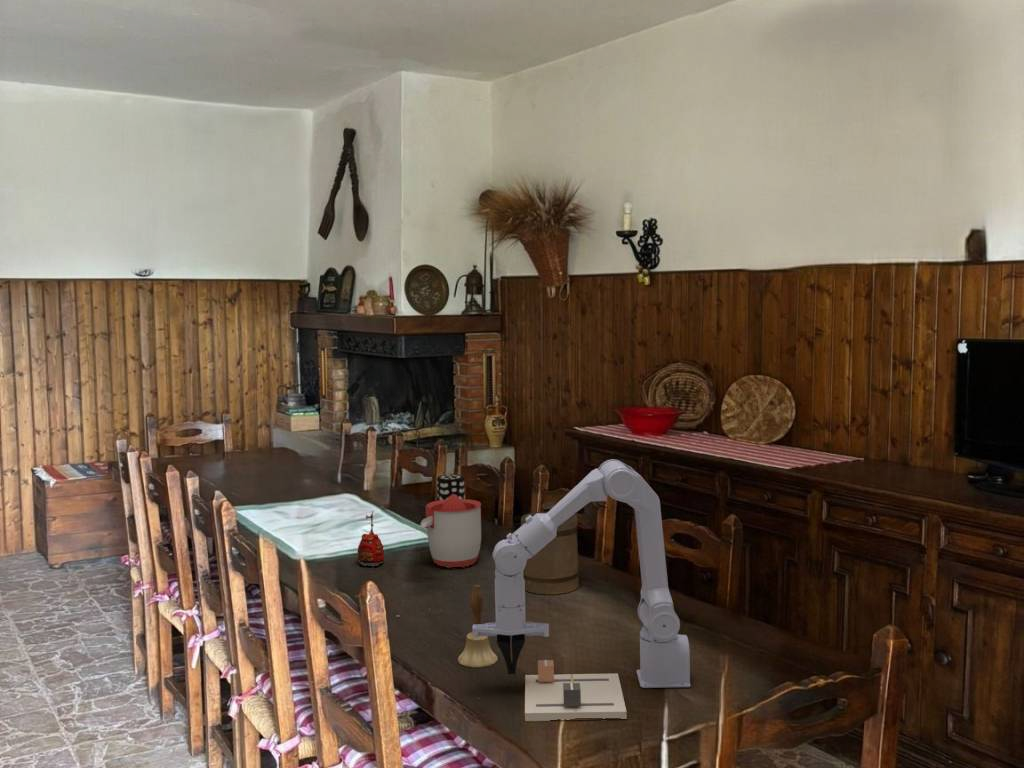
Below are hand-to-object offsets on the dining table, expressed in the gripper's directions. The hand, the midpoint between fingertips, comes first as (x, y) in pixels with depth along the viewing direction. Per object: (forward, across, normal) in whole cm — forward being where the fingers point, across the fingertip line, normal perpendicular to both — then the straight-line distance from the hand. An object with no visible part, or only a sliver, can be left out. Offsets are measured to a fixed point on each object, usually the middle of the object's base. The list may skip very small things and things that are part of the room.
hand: (511, 672), depth 184 cm
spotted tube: (+4, +20, -111) cm, 113 cm away
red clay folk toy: (+4, +41, -87) cm, 96 cm away
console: (+3, -12, +6) cm, 13 cm away
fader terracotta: (+1, -7, 0) cm, 7 cm away
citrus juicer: (+4, +18, -86) cm, 88 cm away
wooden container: (+4, -9, -64) cm, 65 cm away
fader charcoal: (+1, -11, +11) cm, 16 cm away
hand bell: (+4, +8, -15) cm, 17 cm away
